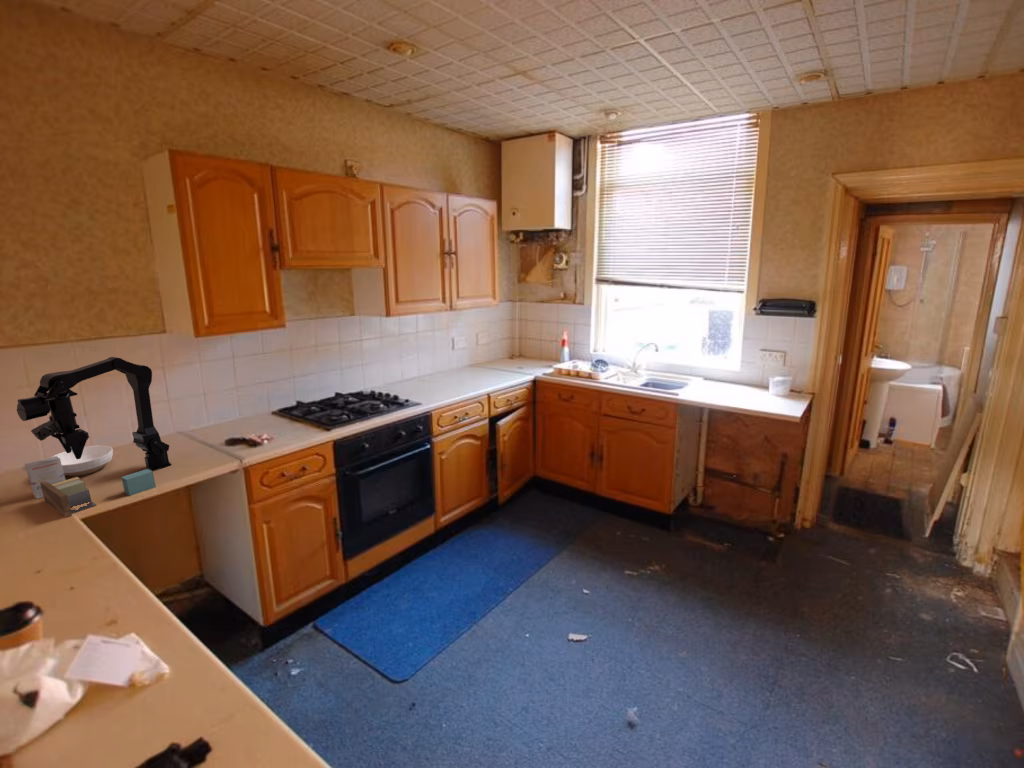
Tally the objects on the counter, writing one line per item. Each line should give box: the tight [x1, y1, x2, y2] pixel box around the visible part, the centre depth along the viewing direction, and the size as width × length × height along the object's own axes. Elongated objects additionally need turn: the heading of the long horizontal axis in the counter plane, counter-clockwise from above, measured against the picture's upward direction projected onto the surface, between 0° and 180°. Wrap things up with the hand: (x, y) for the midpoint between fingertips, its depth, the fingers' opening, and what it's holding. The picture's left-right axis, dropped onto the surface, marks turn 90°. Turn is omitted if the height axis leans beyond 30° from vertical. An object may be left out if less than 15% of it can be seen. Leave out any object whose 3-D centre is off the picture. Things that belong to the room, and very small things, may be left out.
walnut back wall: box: [40, 481, 73, 518], centre depth 171 cm, size 2×19×7 cm, turn 55°
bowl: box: [51, 445, 114, 477], centre depth 201 cm, size 20×20×6 cm
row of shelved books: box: [51, 476, 87, 496], centre depth 178 cm, size 8×6×6 cm
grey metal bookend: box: [67, 488, 97, 515], centre depth 172 cm, size 7×5×4 cm, turn 145°
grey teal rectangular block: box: [121, 468, 157, 497], centre depth 184 cm, size 8×4×6 cm, turn 145°
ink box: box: [24, 455, 66, 500], centre depth 182 cm, size 9×5×12 cm, turn 141°
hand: (73, 455), depth 179 cm, fingers open, 9 cm apart
